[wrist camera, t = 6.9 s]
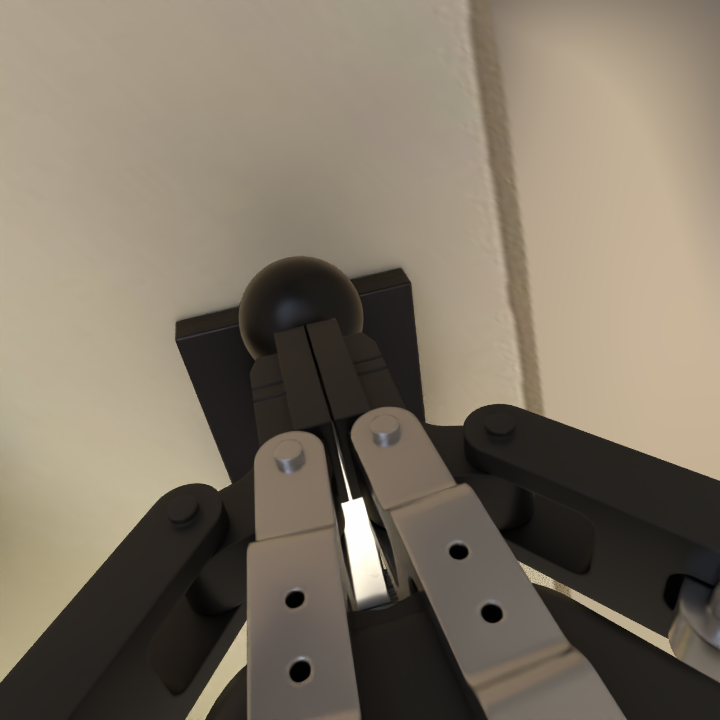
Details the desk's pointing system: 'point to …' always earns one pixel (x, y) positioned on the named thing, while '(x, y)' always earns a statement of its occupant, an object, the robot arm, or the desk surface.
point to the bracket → (234, 363)
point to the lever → (300, 307)
